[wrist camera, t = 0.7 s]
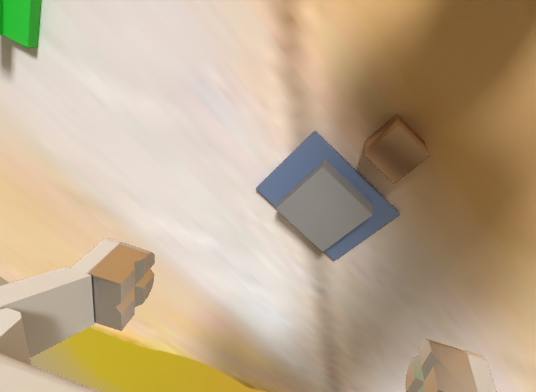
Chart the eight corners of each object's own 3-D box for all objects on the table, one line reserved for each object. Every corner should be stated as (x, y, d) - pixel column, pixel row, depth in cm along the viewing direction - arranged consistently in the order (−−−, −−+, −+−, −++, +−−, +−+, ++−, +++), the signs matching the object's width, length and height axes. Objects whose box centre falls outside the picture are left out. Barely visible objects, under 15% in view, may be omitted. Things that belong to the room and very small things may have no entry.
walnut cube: (396, 113, 45) (399, 125, 41) (424, 142, 46) (429, 156, 41) (364, 141, 47) (364, 154, 43) (391, 167, 48) (393, 183, 44)
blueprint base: (314, 130, 48) (310, 139, 45) (398, 212, 50) (400, 226, 47) (257, 186, 54) (249, 198, 51) (334, 257, 56) (332, 273, 53)
